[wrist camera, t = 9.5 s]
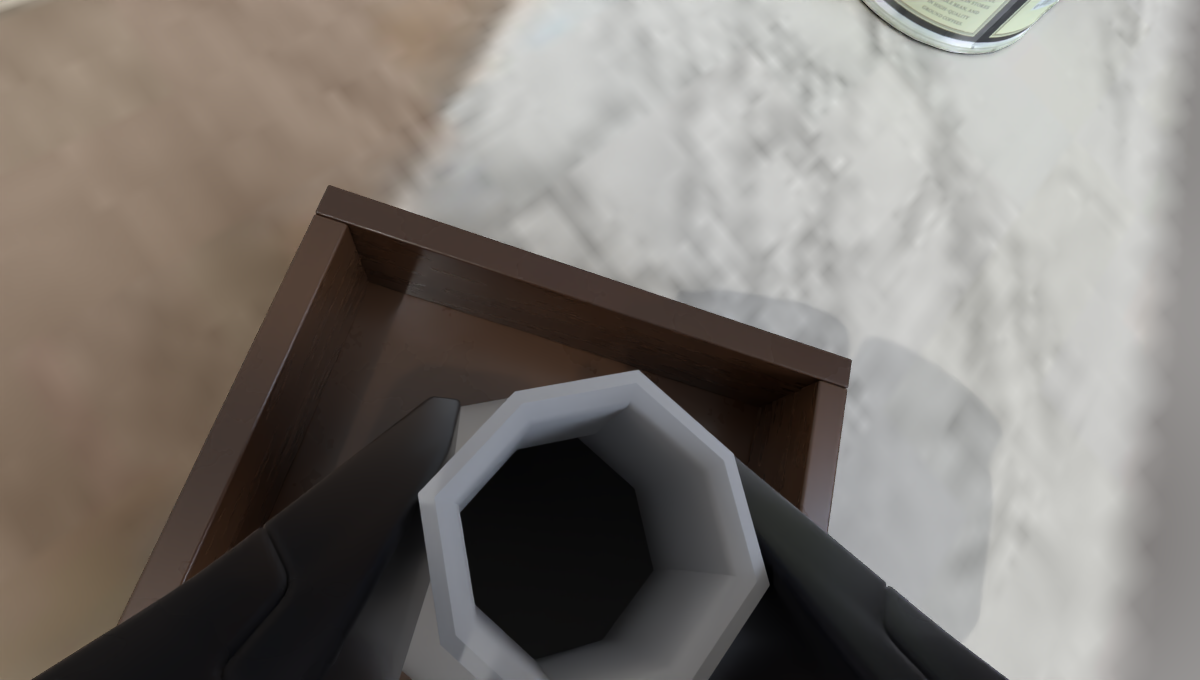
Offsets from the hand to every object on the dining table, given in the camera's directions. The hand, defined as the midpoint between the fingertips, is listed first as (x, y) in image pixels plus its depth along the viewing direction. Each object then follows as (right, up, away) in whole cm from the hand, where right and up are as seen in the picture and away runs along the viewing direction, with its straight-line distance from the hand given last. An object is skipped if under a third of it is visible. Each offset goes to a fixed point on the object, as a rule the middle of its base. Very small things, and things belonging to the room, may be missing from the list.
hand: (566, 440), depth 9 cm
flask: (-2, -4, +6) cm, 7 cm away
